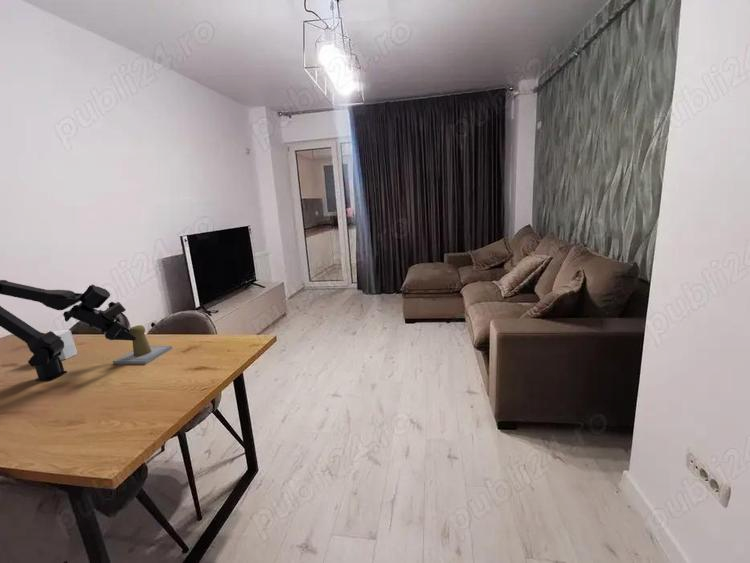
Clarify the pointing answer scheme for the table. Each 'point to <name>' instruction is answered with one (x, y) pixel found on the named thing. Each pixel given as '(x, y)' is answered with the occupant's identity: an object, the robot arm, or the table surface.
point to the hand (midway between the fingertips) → (133, 336)
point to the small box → (66, 344)
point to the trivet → (143, 359)
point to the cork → (140, 341)
